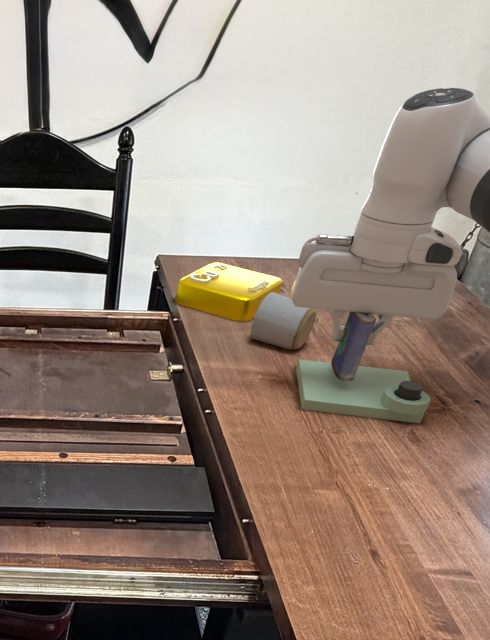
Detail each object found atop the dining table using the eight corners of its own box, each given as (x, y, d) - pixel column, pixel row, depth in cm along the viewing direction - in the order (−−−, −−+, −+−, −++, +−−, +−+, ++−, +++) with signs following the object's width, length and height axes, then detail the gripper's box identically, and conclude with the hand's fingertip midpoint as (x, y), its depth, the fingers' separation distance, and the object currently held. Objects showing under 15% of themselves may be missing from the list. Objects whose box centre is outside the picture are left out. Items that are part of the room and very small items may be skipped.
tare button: (415, 393, 101) (421, 381, 99) (419, 403, 98) (425, 391, 97) (393, 390, 101) (398, 379, 100) (396, 400, 99) (401, 388, 98)
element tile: (244, 325, 126) (251, 298, 123) (170, 304, 133) (175, 277, 130) (280, 302, 134) (287, 276, 131) (209, 283, 141) (214, 258, 138)
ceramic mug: (292, 358, 116) (307, 310, 111) (245, 344, 120) (257, 298, 114) (316, 339, 122) (331, 293, 117) (270, 326, 126) (283, 281, 121)
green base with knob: (405, 383, 110) (414, 361, 108) (423, 429, 99) (434, 407, 97) (295, 370, 113) (301, 349, 110) (301, 414, 102) (308, 392, 100)
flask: (354, 383, 103) (382, 308, 95) (333, 380, 103) (359, 305, 96) (349, 357, 109) (375, 285, 102) (329, 354, 110) (353, 282, 102)
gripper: (307, 239, 93) (278, 342, 103) (476, 253, 90) (430, 358, 99) (304, 226, 98) (276, 326, 107) (464, 238, 94) (421, 340, 104)
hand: (351, 341), depth 103 cm, fingers closed on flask, 3 cm apart
